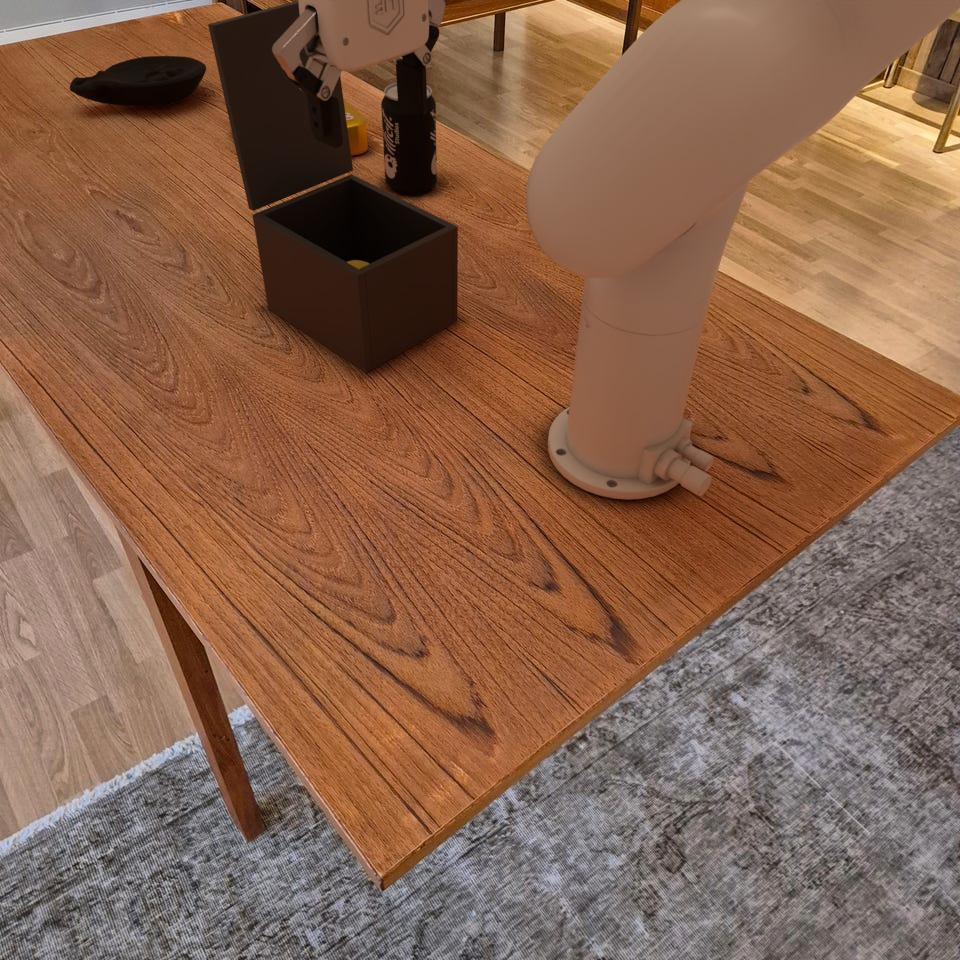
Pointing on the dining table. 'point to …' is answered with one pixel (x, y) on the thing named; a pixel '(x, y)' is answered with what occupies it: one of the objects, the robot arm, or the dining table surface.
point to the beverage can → (409, 145)
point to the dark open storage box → (359, 292)
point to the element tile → (356, 130)
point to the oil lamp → (143, 81)
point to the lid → (272, 110)
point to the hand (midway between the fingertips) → (371, 126)
